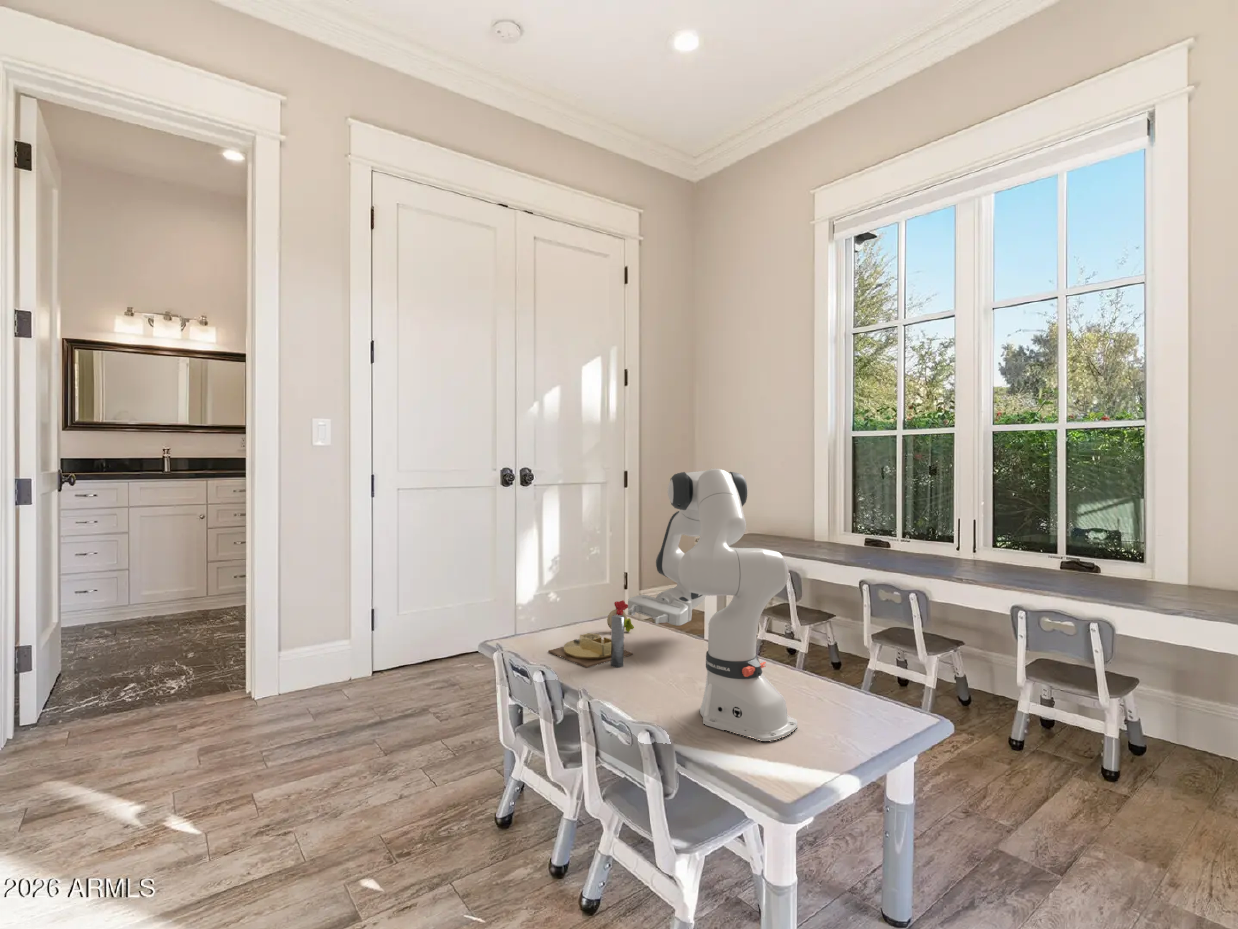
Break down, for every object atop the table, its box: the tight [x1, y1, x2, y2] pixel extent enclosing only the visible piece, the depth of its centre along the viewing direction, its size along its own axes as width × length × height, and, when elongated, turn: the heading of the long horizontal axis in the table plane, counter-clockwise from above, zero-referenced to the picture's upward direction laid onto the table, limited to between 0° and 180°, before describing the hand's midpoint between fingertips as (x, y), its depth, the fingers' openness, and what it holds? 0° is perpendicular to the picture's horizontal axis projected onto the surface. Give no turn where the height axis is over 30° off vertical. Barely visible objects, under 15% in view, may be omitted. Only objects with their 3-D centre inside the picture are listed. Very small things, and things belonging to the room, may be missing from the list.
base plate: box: [547, 646, 633, 669], centre depth 189 cm, size 18×18×1 cm
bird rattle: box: [606, 600, 635, 633], centre depth 213 cm, size 6×11×9 cm
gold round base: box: [563, 632, 611, 660], centre depth 189 cm, size 17×16×4 cm
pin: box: [610, 615, 625, 668], centre depth 179 cm, size 4×4×14 cm
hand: (641, 616), depth 188 cm, fingers open, 8 cm apart
